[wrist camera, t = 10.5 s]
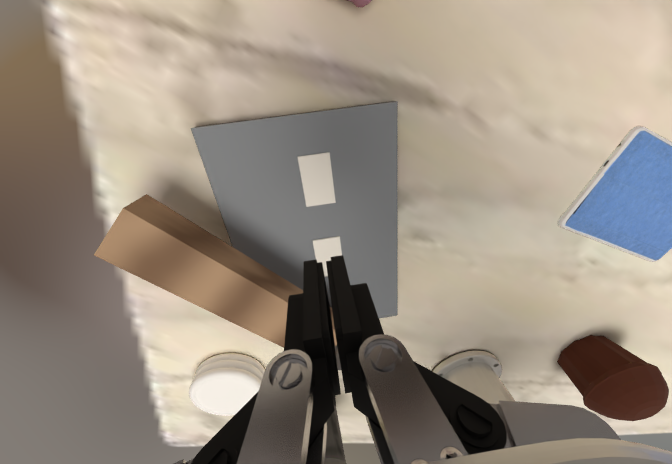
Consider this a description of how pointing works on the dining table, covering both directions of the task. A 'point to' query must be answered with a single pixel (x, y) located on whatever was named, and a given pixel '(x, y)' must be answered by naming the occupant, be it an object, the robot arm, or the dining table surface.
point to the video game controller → (360, 2)
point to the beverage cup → (334, 441)
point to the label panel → (311, 192)
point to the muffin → (614, 379)
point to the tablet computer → (629, 198)
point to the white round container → (226, 383)
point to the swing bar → (199, 268)
